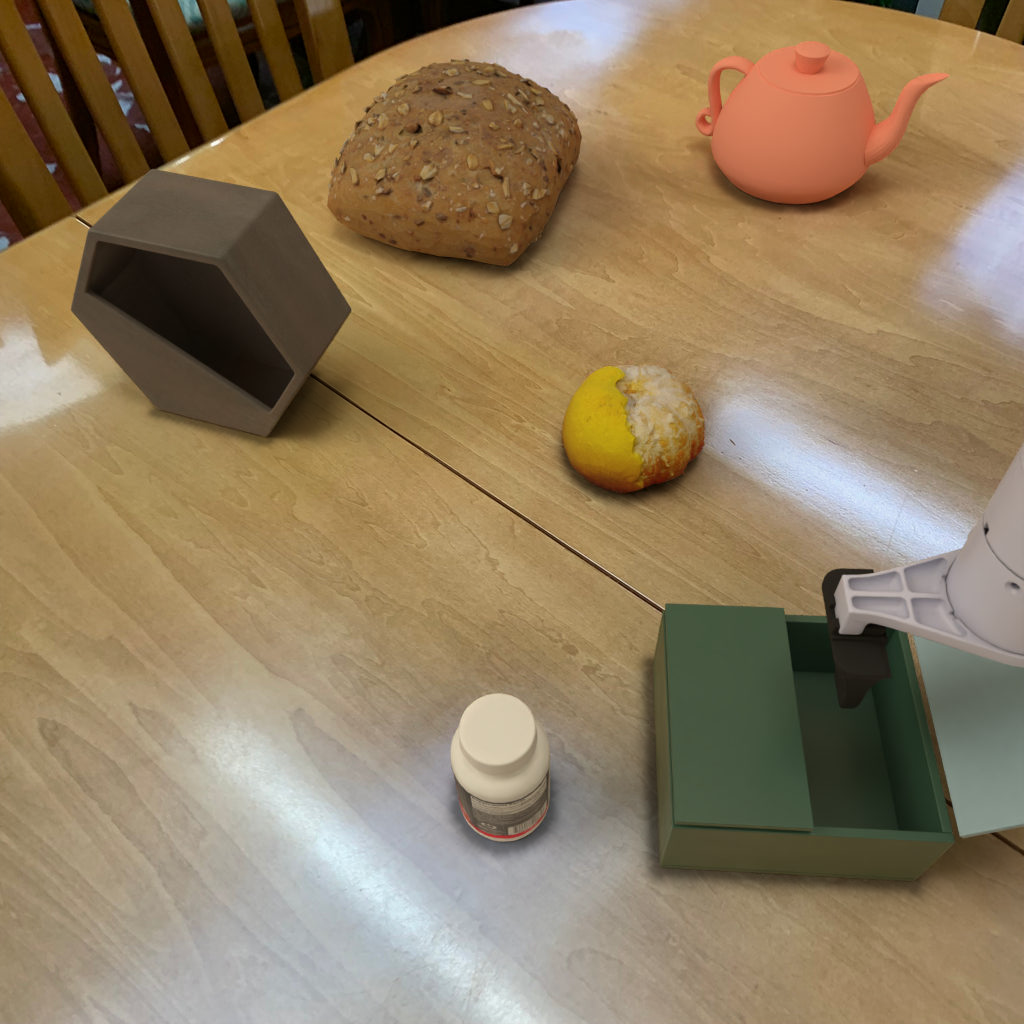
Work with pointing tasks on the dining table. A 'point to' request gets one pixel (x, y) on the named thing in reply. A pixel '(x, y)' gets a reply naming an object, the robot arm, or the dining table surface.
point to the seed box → (789, 752)
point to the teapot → (801, 123)
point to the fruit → (632, 427)
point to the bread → (456, 163)
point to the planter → (208, 298)
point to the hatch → (977, 735)
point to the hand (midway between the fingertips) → (946, 694)
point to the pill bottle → (501, 767)
